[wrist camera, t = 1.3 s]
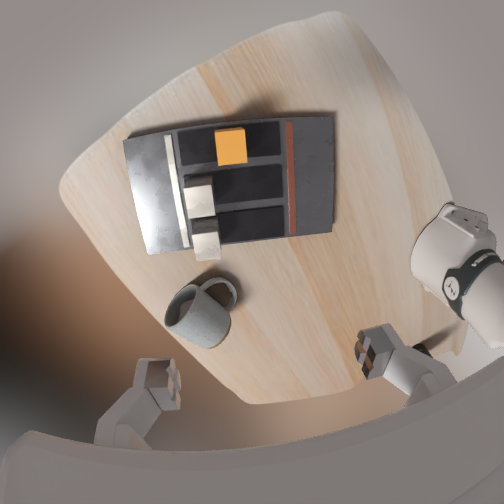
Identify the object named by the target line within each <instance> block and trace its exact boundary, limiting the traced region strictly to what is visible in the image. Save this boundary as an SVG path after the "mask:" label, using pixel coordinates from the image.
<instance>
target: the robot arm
mask: <svg viewBox="0 0 504 504" xmlns="http://www.w3.org/2000/svg"><path fill="white" fill-rule="evenodd" d="M411 271H412V274H413V276H414V277H415V278H416V279H417V280H419V281H420V282H421V283H422V285H423V288H424V289H425V290H426V291H427V292H432V293H433V294H435V295H436V296H437V297H438V298H439V299H440V300H441V301H443V302H444V303H445V304H446V305H447V306H449V307H451V308H452V309H453V311H454V313H455V314H456V315H457V316H459V317H460V318H461V319H462V320H466V321H467V323H468V324H469V325H470V326H471V327H472V329H473V330H474V331H475V332H476V333H477V335H478V336H479V337H480V338H481V340H482V341H483V342H484V343H485V345H486V346H487V347H489V348H491V349H500V348H503V347H504V260H503V262H502V261H501V259H500V258H499V256H498V255H497V254H496V237H495V234H494V233H492V232H491V231H490V230H488V219H487V216H486V215H485V214H484V213H481V212H477V211H474V210H470V209H467V208H463V207H459V206H455V205H452V204H446V205H445V206H444V207H443V208H442V210H441V211H440V213H439V215H438V216H437V217H436V219H434V220H433V221H432V222H431V223H430V224H429V225H428V226H427V227H426V228H425V229H424V230H423V232H422V233H421V235H420V236H419V238H418V240H417V242H416V244H415V246H414V249H413V252H412V256H411ZM357 337H358V339H359V340H358V341H357V342H356V343H355V348H354V350H355V356H356V359H357V361H358V362H359V363H360V364H362V365H363V366H362V371H363V373H364V375H365V377H366V380H368V379H372V378H375V377H379V376H383V377H384V378H386V379H387V380H388V381H390V382H391V383H393V384H394V385H395V386H396V387H398V388H399V389H401V390H402V391H403V392H405V393H406V394H408V395H409V396H410V397H409V399H408V400H407V402H406V403H405V405H404V407H405V408H403V409H401V410H398V411H396V412H394V413H391V414H388V415H385V416H382V417H380V418H377V419H374V420H371V421H368V422H365V423H362V424H359V425H355V426H353V427H349V428H345V429H342V430H338V431H334V432H331V433H327V434H323V435H319V436H314V437H310V438H305V439H300V440H296V441H290V442H285V443H279V444H273V445H266V446H259V447H251V448H242V449H232V450H217V451H195V452H194V451H193V452H169V451H168V452H167V451H152V449H151V447H150V446H149V445H148V444H147V443H146V442H145V441H144V440H143V438H144V436H145V435H146V433H147V432H148V430H149V429H150V428H151V426H152V425H153V423H154V422H155V420H156V419H157V418H158V416H159V414H160V413H161V412H162V411H161V410H180V396H179V393H178V392H179V391H180V389H181V379H180V374H179V371H178V369H177V368H175V362H174V359H173V358H145V359H139V360H138V362H137V367H136V372H135V377H134V382H133V387H132V388H129V389H128V390H127V391H126V392H125V393H124V394H123V395H122V396H121V397H120V398H119V400H118V401H117V402H116V403H115V404H114V405H113V406H112V407H111V408H110V409H109V410H108V411H107V412H106V413H105V414H104V415H103V416H102V417H101V418H100V419H99V420H98V424H97V429H96V434H95V439H94V444H88V443H82V442H77V441H72V440H67V439H63V438H59V437H55V436H50V435H47V434H43V433H40V432H36V431H29V432H26V433H25V434H23V435H22V436H21V437H20V438H19V439H17V440H16V441H15V442H14V443H13V444H12V445H11V446H10V447H9V448H8V450H7V452H6V454H5V457H4V459H3V462H2V466H1V470H0V504H504V356H502V357H500V358H498V359H497V360H495V361H493V362H492V363H490V364H489V365H487V366H486V367H484V368H482V369H481V370H479V371H478V372H476V373H474V374H472V375H471V376H469V377H467V378H466V379H464V380H462V381H460V382H458V383H457V381H456V380H455V378H454V376H453V375H452V373H451V372H450V370H449V369H448V367H447V366H446V365H445V364H443V363H441V362H439V361H437V360H435V359H433V358H431V357H429V356H427V355H425V354H423V353H421V352H420V351H418V350H416V349H414V348H412V347H410V346H405V345H404V343H403V342H402V340H401V339H400V337H399V336H398V334H397V333H396V331H395V330H394V329H393V327H392V326H391V324H389V323H387V324H383V325H379V326H375V327H371V328H367V329H363V330H360V331H359V332H358V335H357Z"/></svg>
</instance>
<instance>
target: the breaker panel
mask: <svg viewBox="0 0 504 504" xmlns="http://www.w3.org/2000/svg"><path fill="white" fill-rule="evenodd" d="M237 127H242V128H243V129H245V139H246V151H247V162H248V163H239V164H230V165H221V166H218V158H217V150H216V141H215V130H219V129H228V128H237ZM123 146H124V152H125V157H126V163H127V168H128V173H129V178H130V183H131V188H132V192H133V197H134V201H135V206H136V210H137V214H138V218H139V222H140V226H141V230H142V234H143V238H144V242H145V245H146V249H147V253H148V254H156V253H164V252H171V251H179V250H187V249H194V250H195V255H196V260H197V261H205V260H213V259H221V258H222V250H221V245H227V244H235V243H243V242H251V241H259V240H268V239H276V238H285V237H293V236H302V235H310V234H319V233H328V232H332V222H333V190H334V139H333V117H280V118H262V119H249V120H238V121H228V122H219V123H211V124H204V125H197V126H190V127H184V128H178V129H172V130H167V131H161V132H156V133H151V134H147V135H142V136H137V137H133V138H129V139H125V140H123Z"/></svg>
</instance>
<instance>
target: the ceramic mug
mask: <svg viewBox="0 0 504 504" xmlns="http://www.w3.org/2000/svg"><path fill="white" fill-rule="evenodd" d="M222 282H224V283H225V284H226V285H227V287H228V288H229V291H230V292H232V296H231V299H230V301H229V303H228V304H227V306H226V307H225V308H224V307H222V305H220V304H219V303H218V302H216V301H215V300H214V299H213V298H211V297H210V296H209V295H208V294H207V293H206V292H205V289H207V288H208V287H210V286H211V285H213V284H215V283H222ZM236 301H237V291H236V289H235V287H234V286H233V284H232V283H231V282H229V281H228V280H227V279H225V278H222V277H215V278H211V279H209V280H208V281H206V282H205V283H203V284H202V285H201V286H200V287H199V286H197V285H196V284H190V285H188V286H186V287H184V288H183V289H182V290H181V291H179V292H178V293H177V295H176V296H175V297H174V298H173V300H172V301H171V303H170V304H169V306H168V309H167V311H166V314H165V319H164V322H165V326H166V327H167V329H169V330H171V331H173V332H174V333H176V334H178V335H180V336H181V337H183V338H185V339H187V340H189V341H190V342H192V343H194V344H196V345H198V346H200V347H203V348H207V349H211V348H214V347H216V346H218V345H219V344H221V343H222V342H223V341H224V339H225V338H226V337H227V335H228V333H229V331H230V327H231V317H230V315H229V311H231V309H232V308H233V307H234V305H235V303H236Z"/></svg>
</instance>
